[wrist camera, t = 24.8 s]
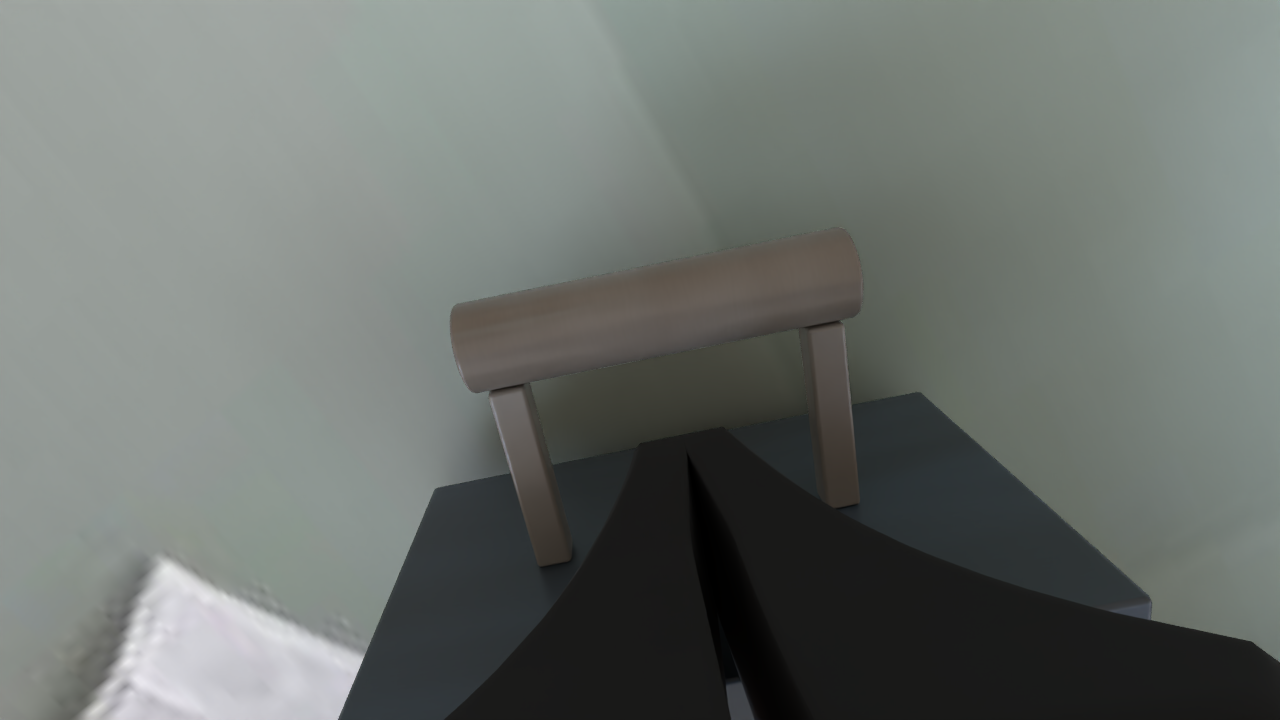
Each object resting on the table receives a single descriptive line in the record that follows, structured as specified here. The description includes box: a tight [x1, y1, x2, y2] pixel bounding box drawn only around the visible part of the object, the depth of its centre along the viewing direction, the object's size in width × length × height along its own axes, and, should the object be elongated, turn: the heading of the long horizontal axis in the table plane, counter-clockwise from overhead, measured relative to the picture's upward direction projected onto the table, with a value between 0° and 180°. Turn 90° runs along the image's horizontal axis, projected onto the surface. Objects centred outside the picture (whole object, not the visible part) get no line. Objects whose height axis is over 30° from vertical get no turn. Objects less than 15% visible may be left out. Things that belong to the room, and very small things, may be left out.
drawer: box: [338, 227, 1152, 720], centre depth 13 cm, size 17×11×7 cm, turn 11°
